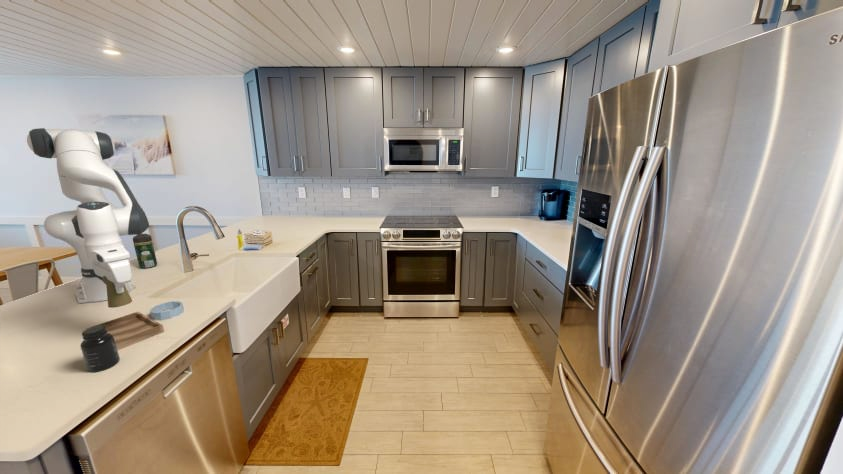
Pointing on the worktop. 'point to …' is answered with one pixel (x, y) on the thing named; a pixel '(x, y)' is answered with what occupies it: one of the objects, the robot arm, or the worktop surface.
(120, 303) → the cork
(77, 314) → the worktop surface
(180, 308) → the light blue shallow dish
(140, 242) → the coffee jar
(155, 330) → the tray
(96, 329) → the supplement bottle
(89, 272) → the robot arm
